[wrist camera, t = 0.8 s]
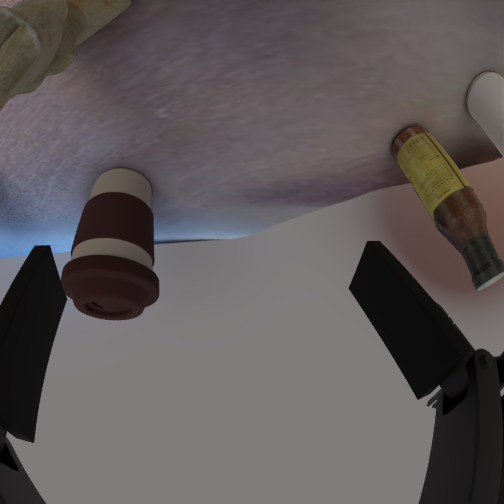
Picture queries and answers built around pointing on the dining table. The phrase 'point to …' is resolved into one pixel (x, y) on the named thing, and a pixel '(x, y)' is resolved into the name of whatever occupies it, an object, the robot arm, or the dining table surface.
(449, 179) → the sauce bottle
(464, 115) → the dining table surface
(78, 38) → the sculpture
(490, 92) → the mug
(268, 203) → the dining table surface
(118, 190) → the coffee cup
